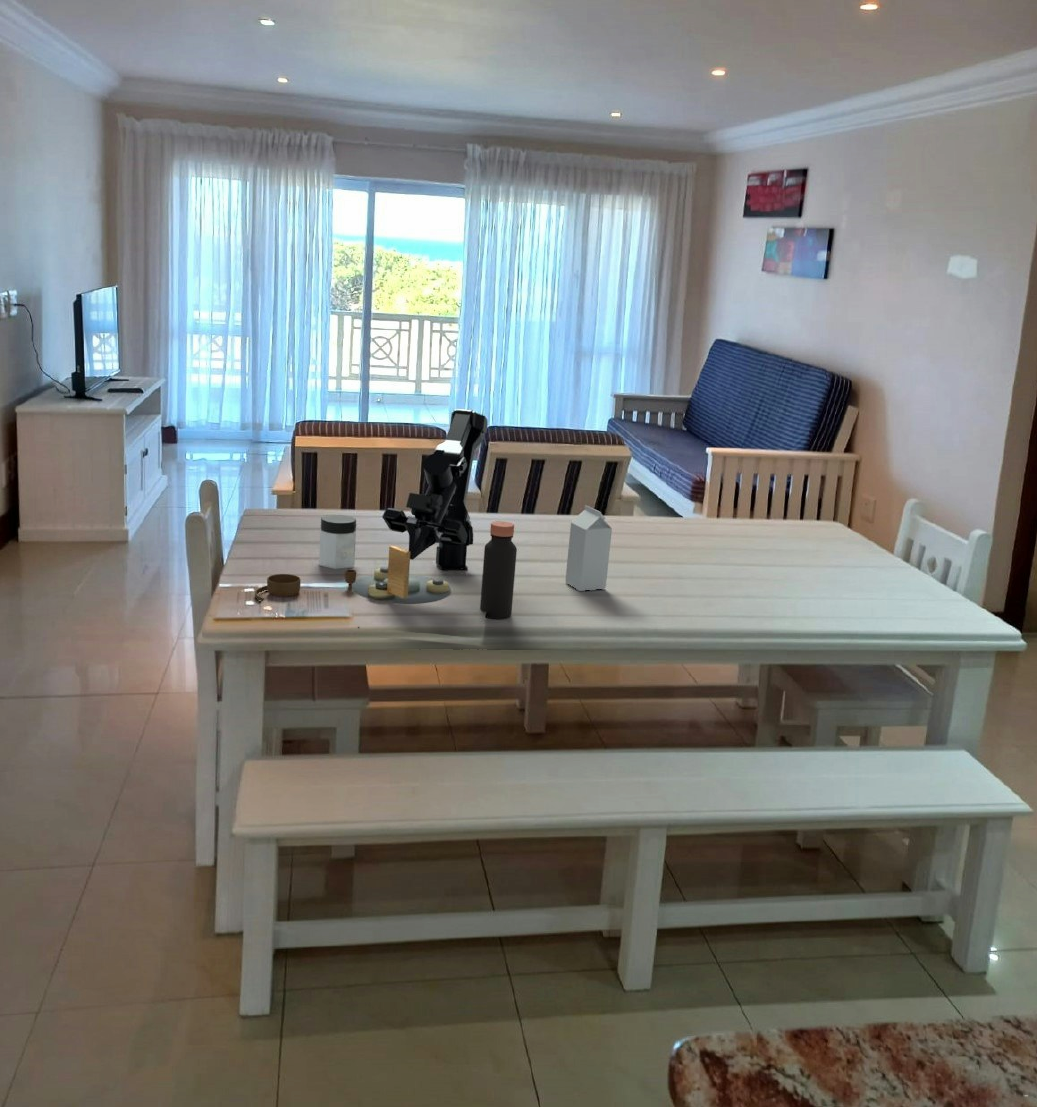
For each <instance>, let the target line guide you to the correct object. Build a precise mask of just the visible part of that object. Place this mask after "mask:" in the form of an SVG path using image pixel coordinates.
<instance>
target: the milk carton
mask: <svg viewBox="0 0 1037 1107" xmlns="http://www.w3.org/2000/svg"><path fill="white" fill-rule="evenodd" d="M605 519H606V517H605V516H604V515H603V514H602V512H601V511H599V510H597V509H595V508H592V507H590V506H589V505H586V504H585V505H584V510H583V511H581V513H579V514H578V515H577V516H576V517H574V518H573V519H572V521H571V522H570V528H569V538H568V539H569V541H568V549H567V551H568V552H567V560H566V561H567V562H566V570H565V571H566V572H565V581H564V582H566V583H565V584H567V585H568V584H570V585H571V586H570V585H569V586H570V587H572V586H573V587H574V588H573V587H572V588H573V589H575V588H576V589H575V590H577V591H579V592H586V591H585V590H590V591H597V590H596V589H602V590H605V589H604V588H606V587H607V579H608V571H609V560H610V551H611V542H612V541H611V540H612V533H613V528H612V527H611V526H610V525H609V524H608V522H606V520H605Z"/></svg>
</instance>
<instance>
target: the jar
mask: <svg viewBox="0 0 1037 1107" xmlns="http://www.w3.org/2000/svg"><path fill="white" fill-rule="evenodd" d="M319 533H320V534H319V557H318V558H319V560H318V564H319V566H322V567H326V568H330V569H333V570H334V569H335V570H336V569H338V570H339V569H346V568H347V569H349V568H355V562H356V560H355V559H356V558H355V557H356V538H357V534H356V533H357V519H356V517H353V516H350V515H343V514H329V515H324V516H322V517H321V519H320V532H319Z"/></svg>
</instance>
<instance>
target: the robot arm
mask: <svg viewBox="0 0 1037 1107" xmlns="http://www.w3.org/2000/svg"><path fill="white" fill-rule="evenodd" d="M488 421H489V420H488V418H487V417H486V416H485V415H484V414H483V413H477V412H476V411H475V410H473V409H468V408H467V409H465V408H456V409H453V412H451V414H450V422H449V428H448V432H447V434H446V438H445V440H444V442H441V443H440V444H438V445H436V447H435V449H434V451H433V453H431V454H429V455H428V456H427V457H426V458H424V460H423V462H422V463H423V464H422V467H423V471H424V475H425V478H426V482H427V484H428V487H427V489H426V492H425V494H423V493H422V494H419V493H416V492H415V493H414V492H409V494H408V497H407V501H406V506H405V507H406V508H409V509H410V510H411V511H410V513H411V515H412V516H410V515H408V516H407V515H406V513H405V512H404V510H403V509H398V508H393V507H388V508H386V509H385V510H384V512H383V514H382V519H383V521H384V523H386V525H387V527H388V529H389V530H390V531H392V532H397V533H400V534H402V533H405V532H407V533H408V551H409V552H410V561H411V560H414V559H416V558H417V557H418V556H420V555H421V554H422V553H423V552H425V551H426V550H428V549H429V548H431V547H432V546H434V545H435V544H438V546H436V552H435V553H436V554H435V563H436V565H437V566H438V567H439V568H440V569H441V570H442V571H444V570H445V571H446V570H447V571H448V570H449V571H450V570H452V571H453V570H457V571H458V570H469V569H468V568H469V567H468V566H467V564H466V563H467V554H468V552H467V550H468V547H469V546H470V545H473V544H474V527H473V525H472V521H471V516H470V514H469V512H468V509H467V507H466V505H467V499H468V498H467V497H468V491H469V485H470V480H471V475H472V474H471V473H472V467H473V463H474V462H473V460H474V456H475V455H474V454H475V450H476V449H477V448H479V446H480V445H481V444H482V443H483V441H484V436H485V434H486V433H487V430H488Z"/></svg>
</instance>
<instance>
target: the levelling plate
mask: <svg viewBox="0 0 1037 1107" xmlns="http://www.w3.org/2000/svg"><path fill="white" fill-rule="evenodd" d="M387 581H388V567H387V566H383V567H380V568H376V569H374V573H373V574H372V575H367V576H363V577H361V578H360V577H359V578H358V579H356V580H355V582H354V583H352V590H351V591H353V592H354V593H355V594H356V595H359V596H360V597H362V598H366V599H369V600H372V601H375V602H382V603H388V604H389V603H390V604H398V605H401V604H403V605H416V604H417V605H419V604H428V603H429V604H430V603H435V602H437V601H442V600H443V599H446V598H448V597H449V596H450V595H451V593H452V590H451V587H450V583H449V582H448V581H445V580H443V579H440V578H439V579H438V578H437V579H436V578H432V577H428V576H425V575H424V576H423V575H417V574H411V573H409V585H408V598H404V599H403V598H401V597H398V596H395V597H394V598H392V599H385V600H381V599H374V598H371V597H369V596H368V595H367V594H368V586H370V585H373V584H376V582H387Z"/></svg>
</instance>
